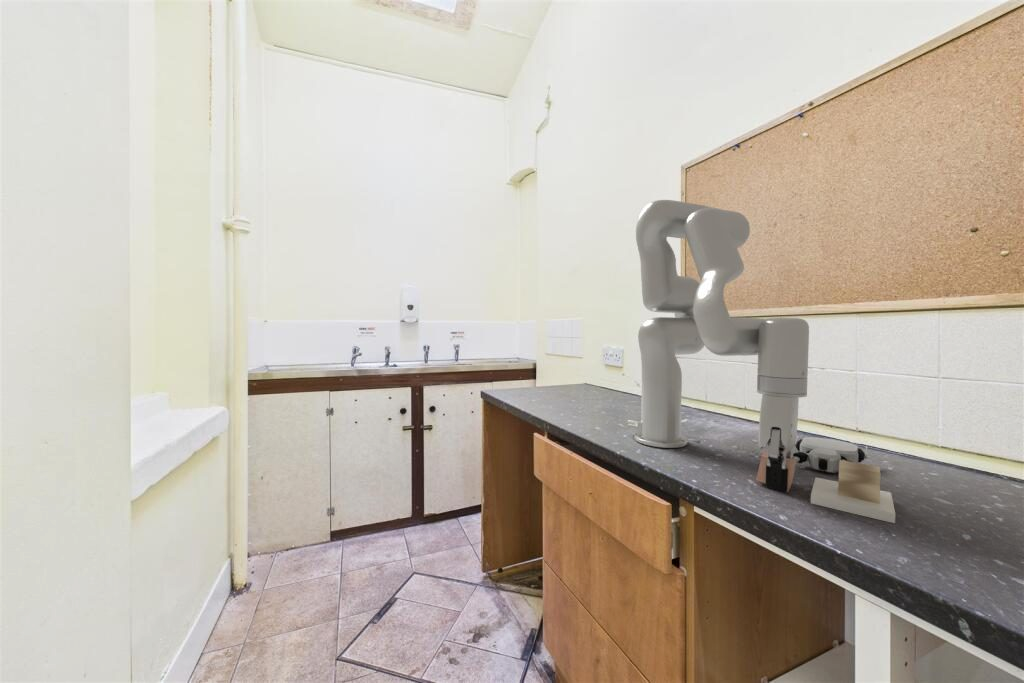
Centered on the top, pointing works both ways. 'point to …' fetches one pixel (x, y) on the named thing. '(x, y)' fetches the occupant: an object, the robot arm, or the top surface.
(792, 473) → the clay brick
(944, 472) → the top surface
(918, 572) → the top surface
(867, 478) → the beech brick
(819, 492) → the base plate
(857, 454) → the robot toy
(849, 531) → the top surface
